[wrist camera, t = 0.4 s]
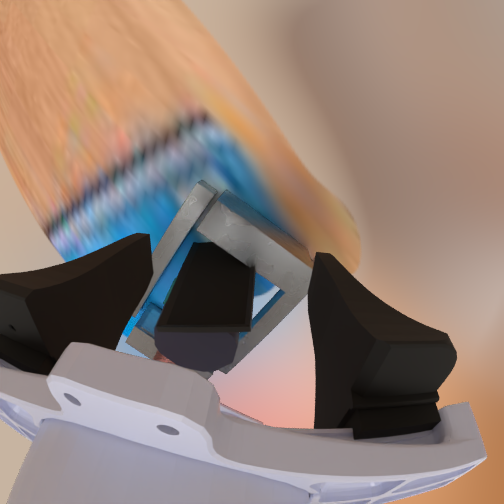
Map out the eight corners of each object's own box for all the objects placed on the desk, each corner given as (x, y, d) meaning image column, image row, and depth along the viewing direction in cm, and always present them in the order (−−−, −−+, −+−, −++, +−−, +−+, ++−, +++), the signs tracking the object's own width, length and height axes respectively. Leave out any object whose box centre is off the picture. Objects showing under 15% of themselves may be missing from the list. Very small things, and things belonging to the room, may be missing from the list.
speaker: (190, 218, 23) (145, 293, 14) (259, 235, 24) (254, 321, 14) (178, 291, 27) (144, 377, 18) (237, 306, 27) (226, 398, 18)
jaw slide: (206, 360, 28) (185, 436, 19) (141, 318, 27) (97, 385, 18) (220, 346, 28) (200, 425, 19) (151, 301, 26) (105, 370, 17)
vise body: (228, 364, 28) (222, 392, 25) (128, 300, 26) (110, 323, 23) (325, 263, 24) (334, 286, 20) (205, 174, 22) (191, 182, 18)
